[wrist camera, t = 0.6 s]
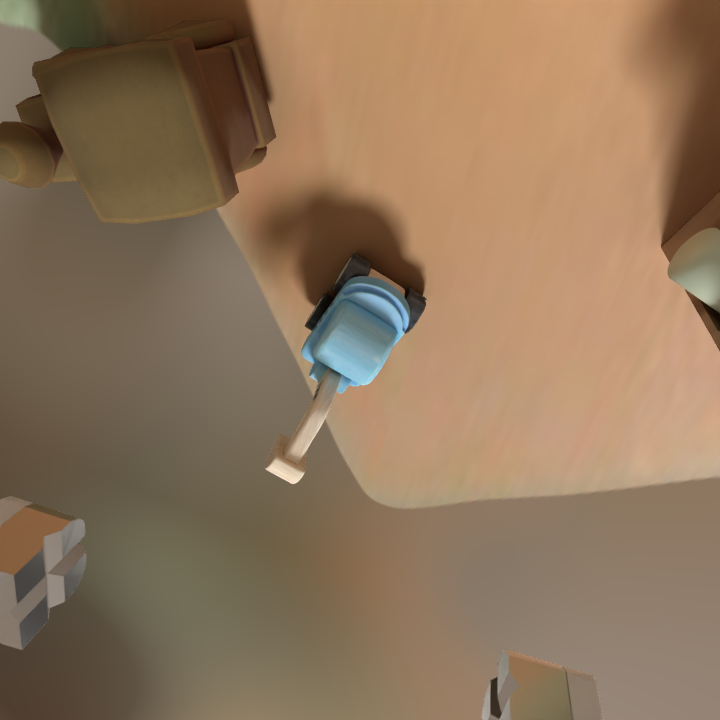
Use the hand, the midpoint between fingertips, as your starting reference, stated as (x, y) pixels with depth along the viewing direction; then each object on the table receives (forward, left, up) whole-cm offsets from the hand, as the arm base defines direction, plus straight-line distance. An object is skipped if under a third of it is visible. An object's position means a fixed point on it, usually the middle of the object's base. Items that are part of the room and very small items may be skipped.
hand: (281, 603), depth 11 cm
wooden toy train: (+12, -20, -45) cm, 50 cm away
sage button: (-4, +21, -34) cm, 40 cm away
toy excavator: (+22, +4, -45) cm, 50 cm away
